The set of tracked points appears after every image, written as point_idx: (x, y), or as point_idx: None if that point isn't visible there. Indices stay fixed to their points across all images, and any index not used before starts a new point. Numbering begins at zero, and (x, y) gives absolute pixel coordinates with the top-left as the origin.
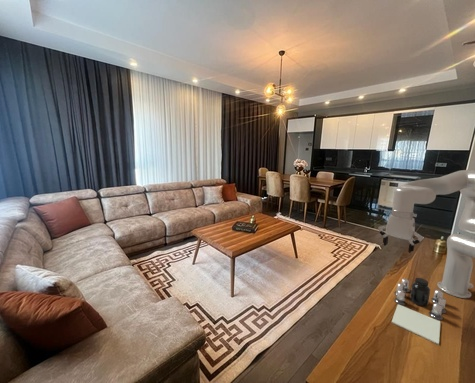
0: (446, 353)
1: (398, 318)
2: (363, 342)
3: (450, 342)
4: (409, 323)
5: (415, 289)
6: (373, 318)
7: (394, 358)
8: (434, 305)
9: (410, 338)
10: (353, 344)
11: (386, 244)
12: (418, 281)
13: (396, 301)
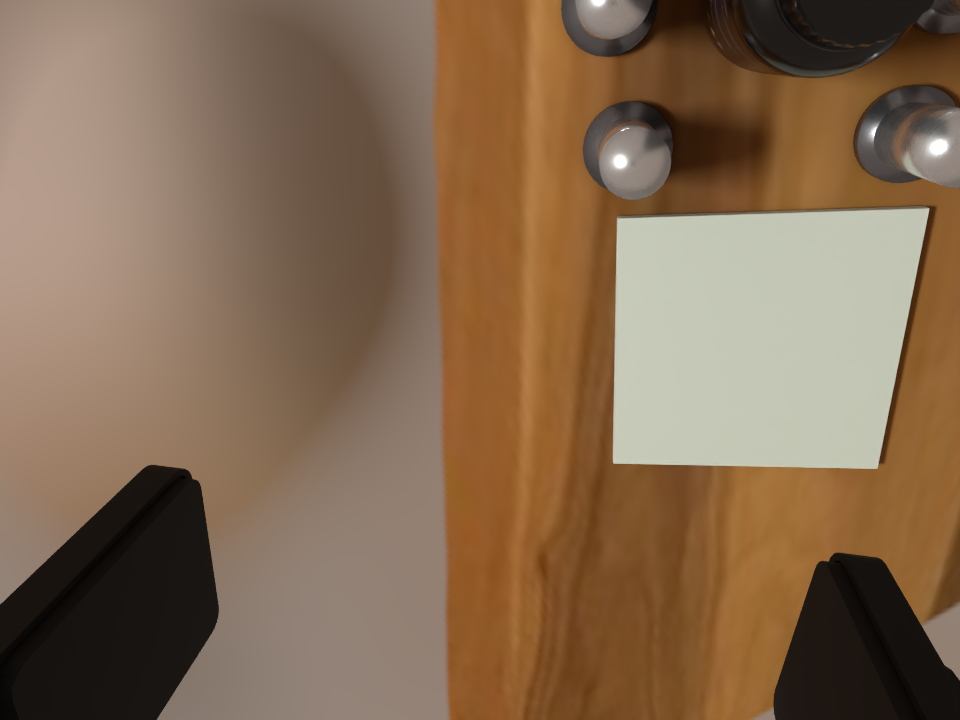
0: (904, 501)
1: (646, 402)
2: (529, 680)
3: (949, 389)
4: (714, 404)
5: (770, 69)
6: (515, 493)
7: (665, 681)
8: (929, 178)
9: (724, 515)
10: (498, 713)
11: (203, 560)
12: (825, 37)
13: (602, 184)
